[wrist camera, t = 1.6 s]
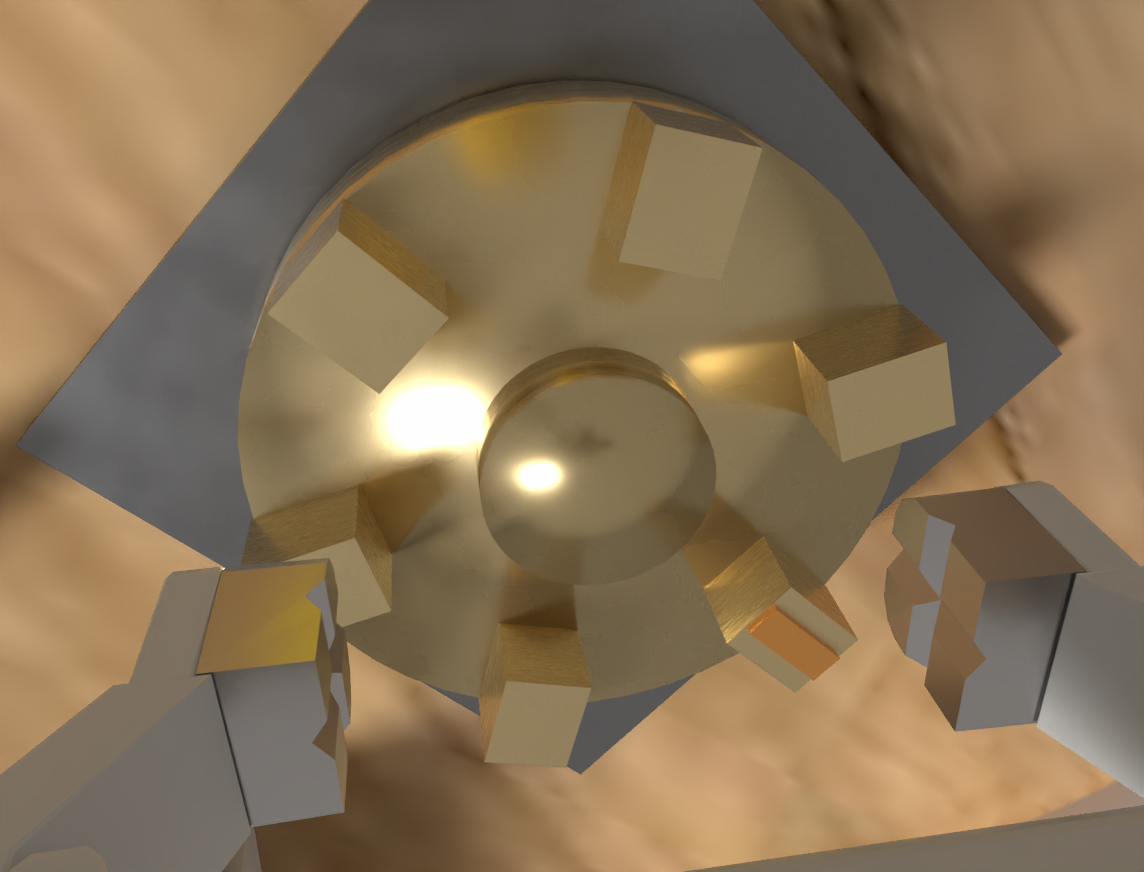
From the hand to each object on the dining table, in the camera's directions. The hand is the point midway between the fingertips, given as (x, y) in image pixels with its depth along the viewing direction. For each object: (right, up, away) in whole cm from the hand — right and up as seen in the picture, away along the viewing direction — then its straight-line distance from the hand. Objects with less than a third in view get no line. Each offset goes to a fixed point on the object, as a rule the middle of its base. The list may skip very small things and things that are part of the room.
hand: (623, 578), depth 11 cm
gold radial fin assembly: (-1, +3, +20) cm, 21 cm away
